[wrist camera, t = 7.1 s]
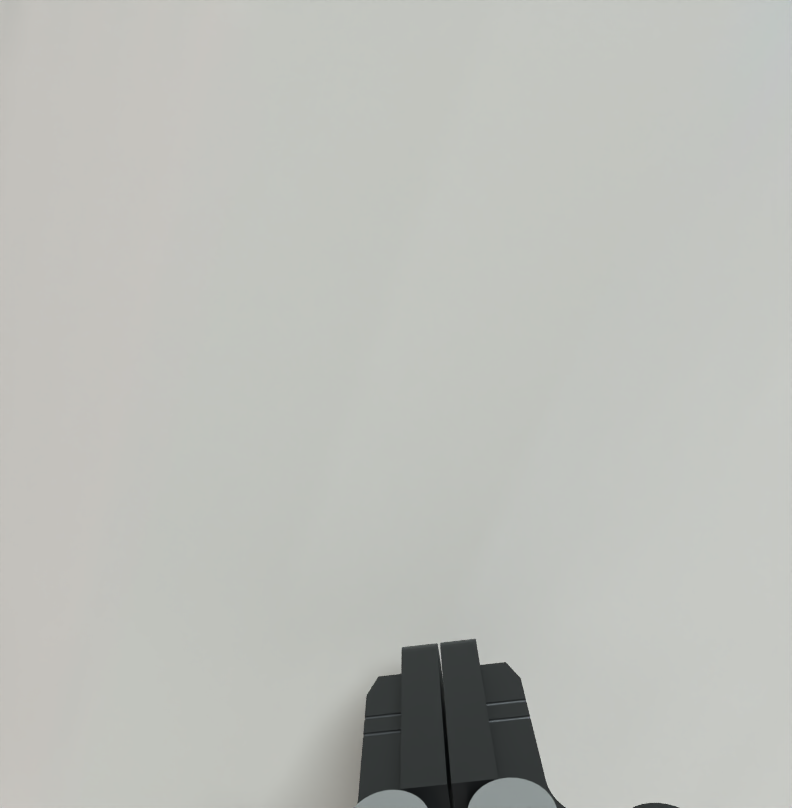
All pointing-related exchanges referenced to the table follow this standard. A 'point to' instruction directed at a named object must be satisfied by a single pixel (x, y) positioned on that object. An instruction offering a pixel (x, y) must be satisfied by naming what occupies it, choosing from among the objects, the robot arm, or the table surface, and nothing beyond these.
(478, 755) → the robot arm
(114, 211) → the table surface
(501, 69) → the table surface
